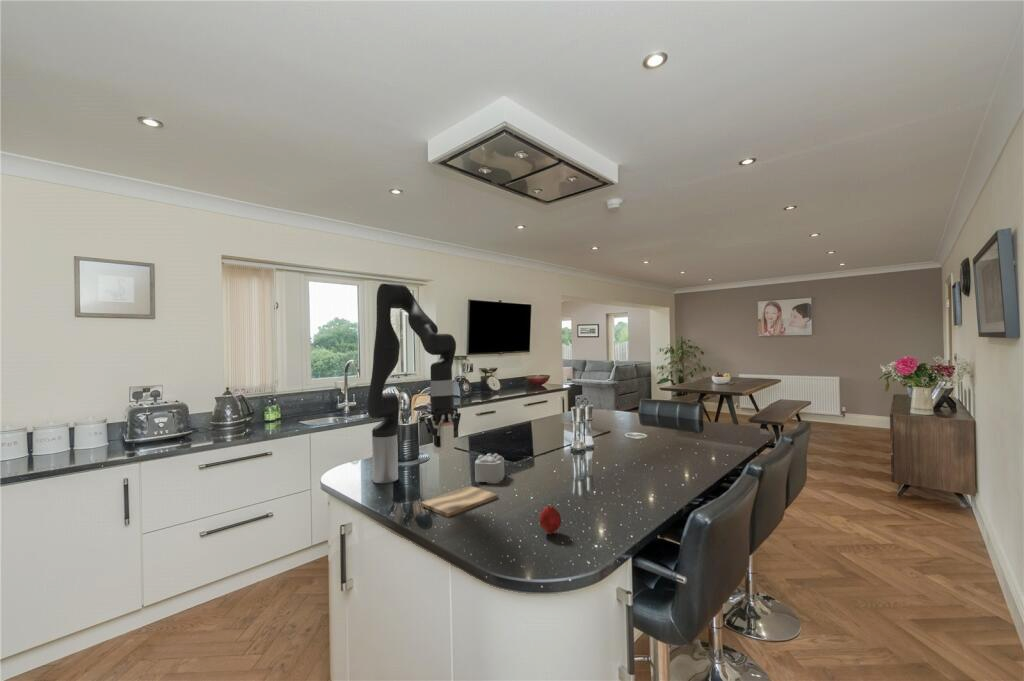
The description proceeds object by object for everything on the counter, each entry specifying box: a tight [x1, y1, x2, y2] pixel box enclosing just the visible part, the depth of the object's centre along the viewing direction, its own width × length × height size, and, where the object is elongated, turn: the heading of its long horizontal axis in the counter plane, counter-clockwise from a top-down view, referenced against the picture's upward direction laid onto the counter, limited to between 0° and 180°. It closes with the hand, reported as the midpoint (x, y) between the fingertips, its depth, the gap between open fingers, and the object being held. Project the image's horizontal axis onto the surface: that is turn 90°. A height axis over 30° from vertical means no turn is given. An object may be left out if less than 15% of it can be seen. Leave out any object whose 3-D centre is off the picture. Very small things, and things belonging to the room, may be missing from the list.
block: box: [432, 421, 455, 456], centre depth 143 cm, size 6×4×10 cm, turn 45°
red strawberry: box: [538, 503, 562, 535], centre depth 116 cm, size 6×6×8 cm
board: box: [419, 485, 499, 518], centre depth 141 cm, size 14×21×1 cm, turn 137°
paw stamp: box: [474, 452, 505, 484], centre depth 166 cm, size 10×13×9 cm
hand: (443, 445), depth 143 cm, fingers closed on block, 4 cm apart
